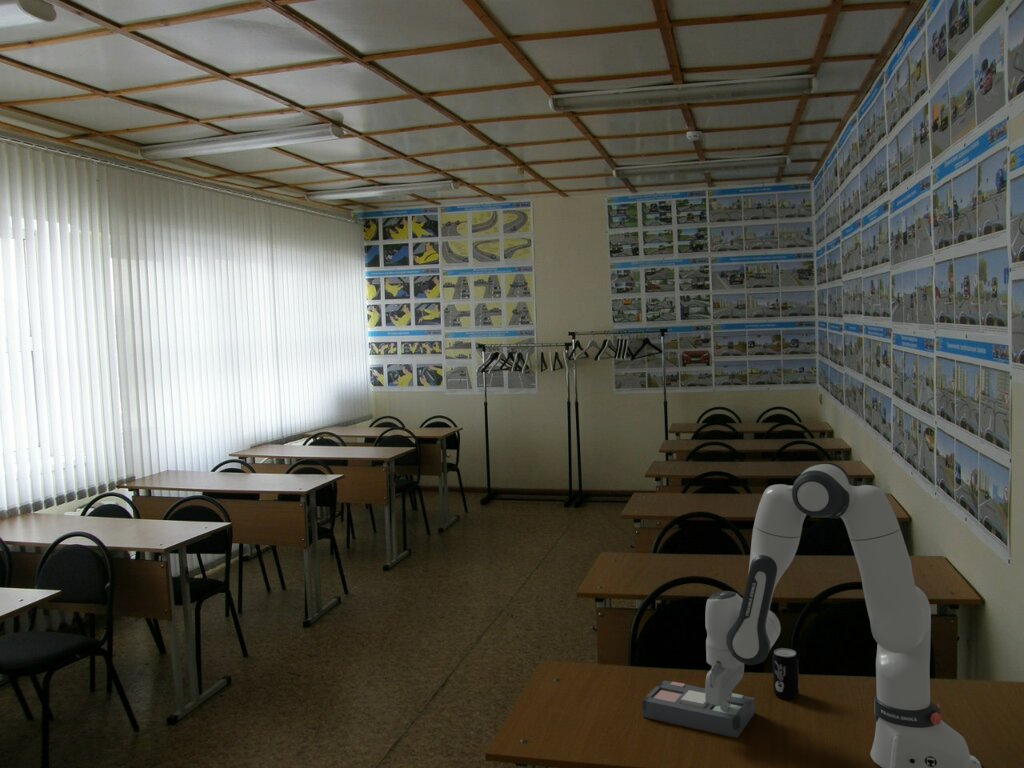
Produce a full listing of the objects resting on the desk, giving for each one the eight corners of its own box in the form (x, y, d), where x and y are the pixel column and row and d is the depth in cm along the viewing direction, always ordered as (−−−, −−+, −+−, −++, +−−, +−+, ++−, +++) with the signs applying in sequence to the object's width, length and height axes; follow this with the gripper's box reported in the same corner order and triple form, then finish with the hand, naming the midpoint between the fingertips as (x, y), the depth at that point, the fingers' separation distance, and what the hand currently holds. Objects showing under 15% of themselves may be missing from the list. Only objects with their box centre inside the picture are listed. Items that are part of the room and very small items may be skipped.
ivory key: (711, 701, 214) (711, 694, 214) (703, 711, 209) (703, 703, 209) (689, 697, 217) (689, 690, 217) (681, 706, 212) (680, 699, 212)
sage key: (742, 713, 210) (741, 706, 210) (734, 723, 205) (734, 715, 205) (719, 709, 213) (718, 701, 213) (711, 718, 208) (711, 711, 208)
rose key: (682, 701, 219) (682, 694, 218) (674, 710, 214) (673, 703, 213) (661, 697, 222) (660, 689, 222) (652, 706, 217) (652, 698, 217)
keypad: (754, 712, 214) (754, 696, 214) (737, 738, 202) (736, 720, 201) (664, 694, 228) (664, 678, 228) (642, 717, 215) (642, 700, 215)
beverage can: (800, 701, 220) (799, 657, 219) (775, 700, 221) (773, 656, 220) (797, 690, 226) (796, 647, 225) (772, 689, 227) (771, 647, 227)
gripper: (723, 672, 198) (724, 728, 199) (748, 643, 215) (749, 695, 216) (697, 668, 201) (699, 722, 202) (724, 639, 218) (726, 690, 219)
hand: (725, 708), depth 209 cm, fingers closed, pressing on sage key
